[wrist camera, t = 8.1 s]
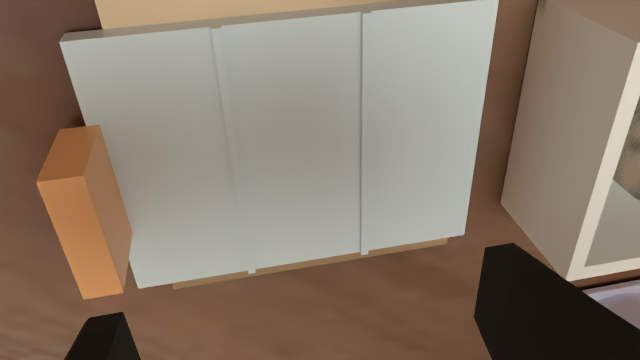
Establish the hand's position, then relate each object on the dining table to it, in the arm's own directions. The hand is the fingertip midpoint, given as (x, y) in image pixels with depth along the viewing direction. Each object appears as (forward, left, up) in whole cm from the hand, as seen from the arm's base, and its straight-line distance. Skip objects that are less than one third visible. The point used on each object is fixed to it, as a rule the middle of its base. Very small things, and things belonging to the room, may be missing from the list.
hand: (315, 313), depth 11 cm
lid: (-2, -1, -9) cm, 10 cm away
